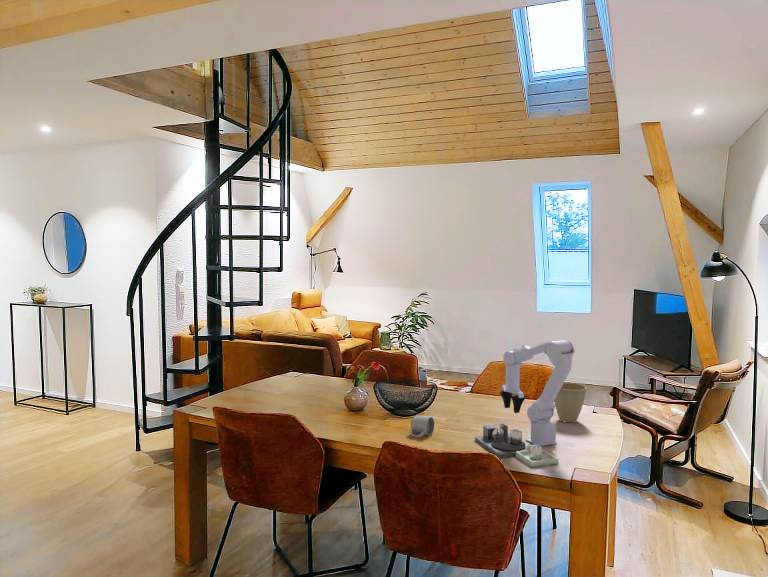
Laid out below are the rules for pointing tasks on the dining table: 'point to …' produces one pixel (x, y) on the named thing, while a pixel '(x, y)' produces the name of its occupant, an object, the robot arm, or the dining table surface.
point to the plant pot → (570, 401)
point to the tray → (546, 460)
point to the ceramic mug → (422, 426)
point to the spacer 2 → (535, 452)
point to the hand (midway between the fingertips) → (511, 410)
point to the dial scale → (500, 441)
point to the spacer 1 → (516, 436)
